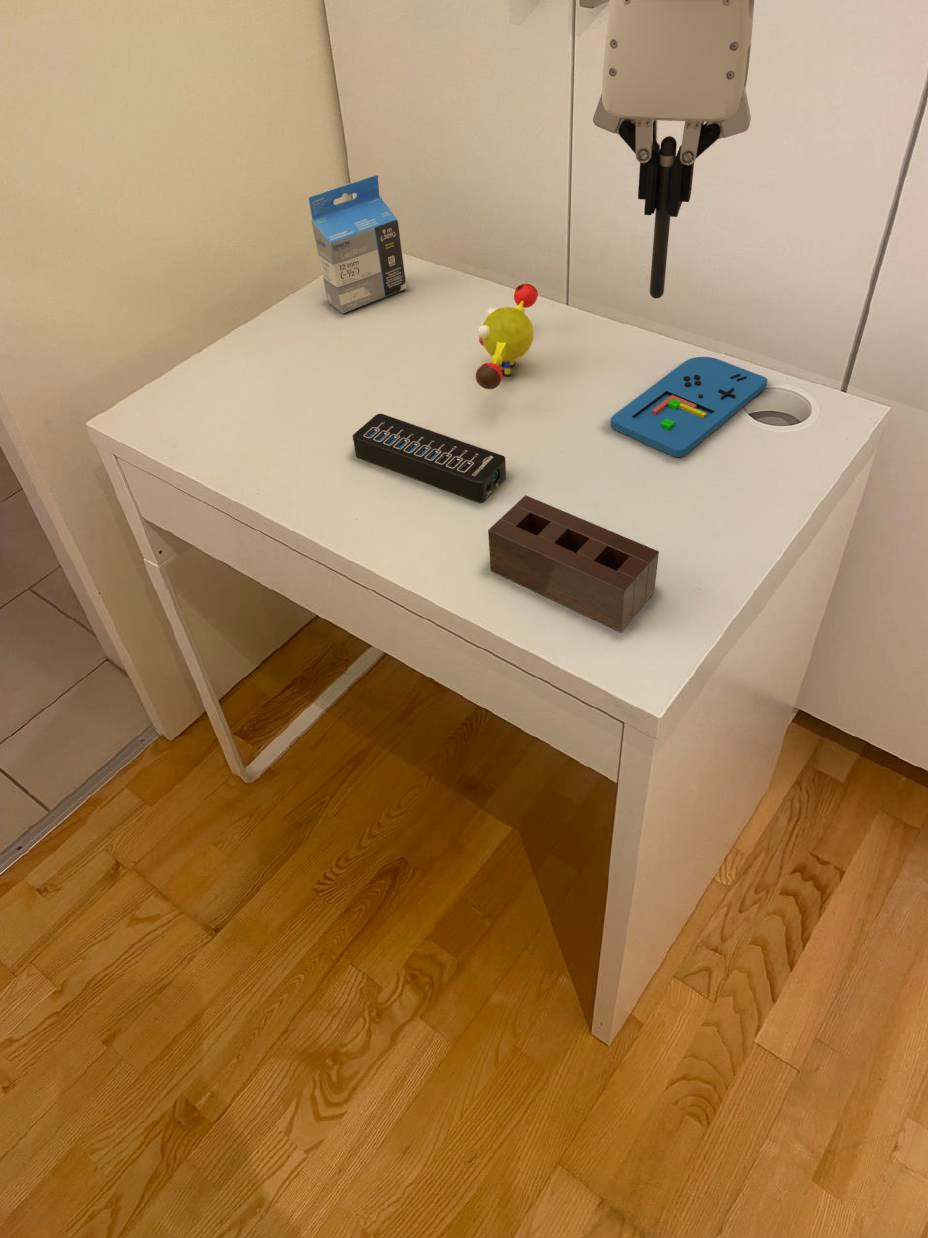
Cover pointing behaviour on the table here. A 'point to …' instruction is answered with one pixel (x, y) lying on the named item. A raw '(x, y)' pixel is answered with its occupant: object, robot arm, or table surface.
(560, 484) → the table surface
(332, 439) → the table surface
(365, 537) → the table surface
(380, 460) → the multiport hub
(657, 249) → the stylus
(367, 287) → the label tape box
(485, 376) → the toy figure
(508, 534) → the pen stand
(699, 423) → the handheld gaming device
